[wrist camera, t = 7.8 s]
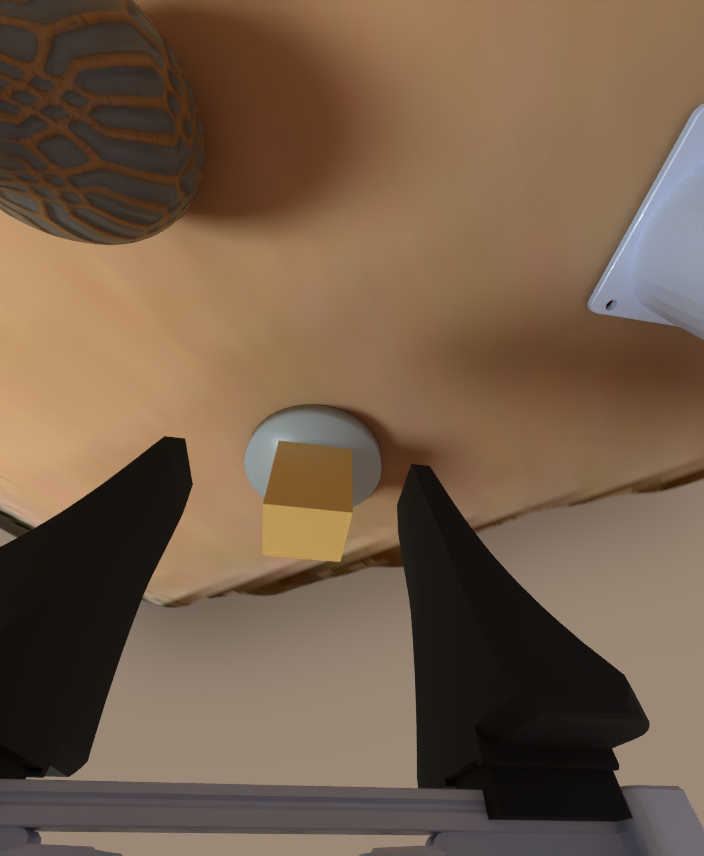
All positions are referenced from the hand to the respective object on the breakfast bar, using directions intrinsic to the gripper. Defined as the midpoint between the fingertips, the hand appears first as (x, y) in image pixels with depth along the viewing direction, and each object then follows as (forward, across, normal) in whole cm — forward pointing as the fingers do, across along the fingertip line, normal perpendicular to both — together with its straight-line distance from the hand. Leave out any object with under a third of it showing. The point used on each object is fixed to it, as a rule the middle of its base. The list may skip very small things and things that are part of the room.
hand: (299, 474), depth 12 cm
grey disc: (+10, 0, +8) cm, 13 cm away
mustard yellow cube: (+9, 0, +8) cm, 12 cm away
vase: (+10, +8, -8) cm, 15 cm away
